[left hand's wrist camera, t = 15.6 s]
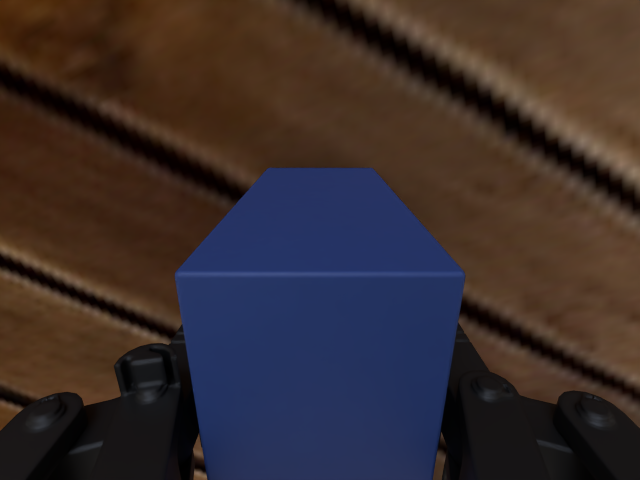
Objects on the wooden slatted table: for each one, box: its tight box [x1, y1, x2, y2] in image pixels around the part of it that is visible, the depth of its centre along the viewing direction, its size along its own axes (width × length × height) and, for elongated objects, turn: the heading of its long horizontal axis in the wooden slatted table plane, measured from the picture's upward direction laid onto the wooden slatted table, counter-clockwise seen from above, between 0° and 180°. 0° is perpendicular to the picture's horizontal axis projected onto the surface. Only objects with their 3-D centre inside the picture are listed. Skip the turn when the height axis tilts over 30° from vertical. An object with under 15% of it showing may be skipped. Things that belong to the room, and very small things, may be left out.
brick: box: [175, 168, 465, 480], centre depth 12 cm, size 9×5×11 cm, turn 0°
